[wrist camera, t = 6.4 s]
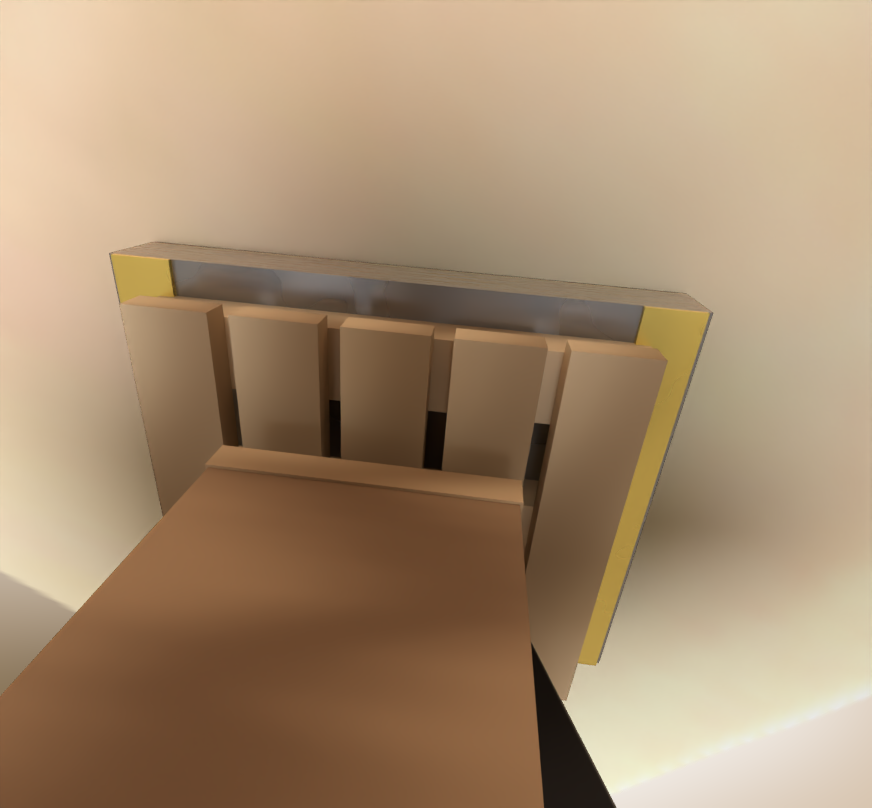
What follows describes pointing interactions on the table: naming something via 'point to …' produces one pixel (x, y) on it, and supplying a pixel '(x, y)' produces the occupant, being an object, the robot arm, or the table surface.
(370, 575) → the crate
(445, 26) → the table surface
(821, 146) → the table surface
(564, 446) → the pallet
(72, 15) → the table surface
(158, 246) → the dock
